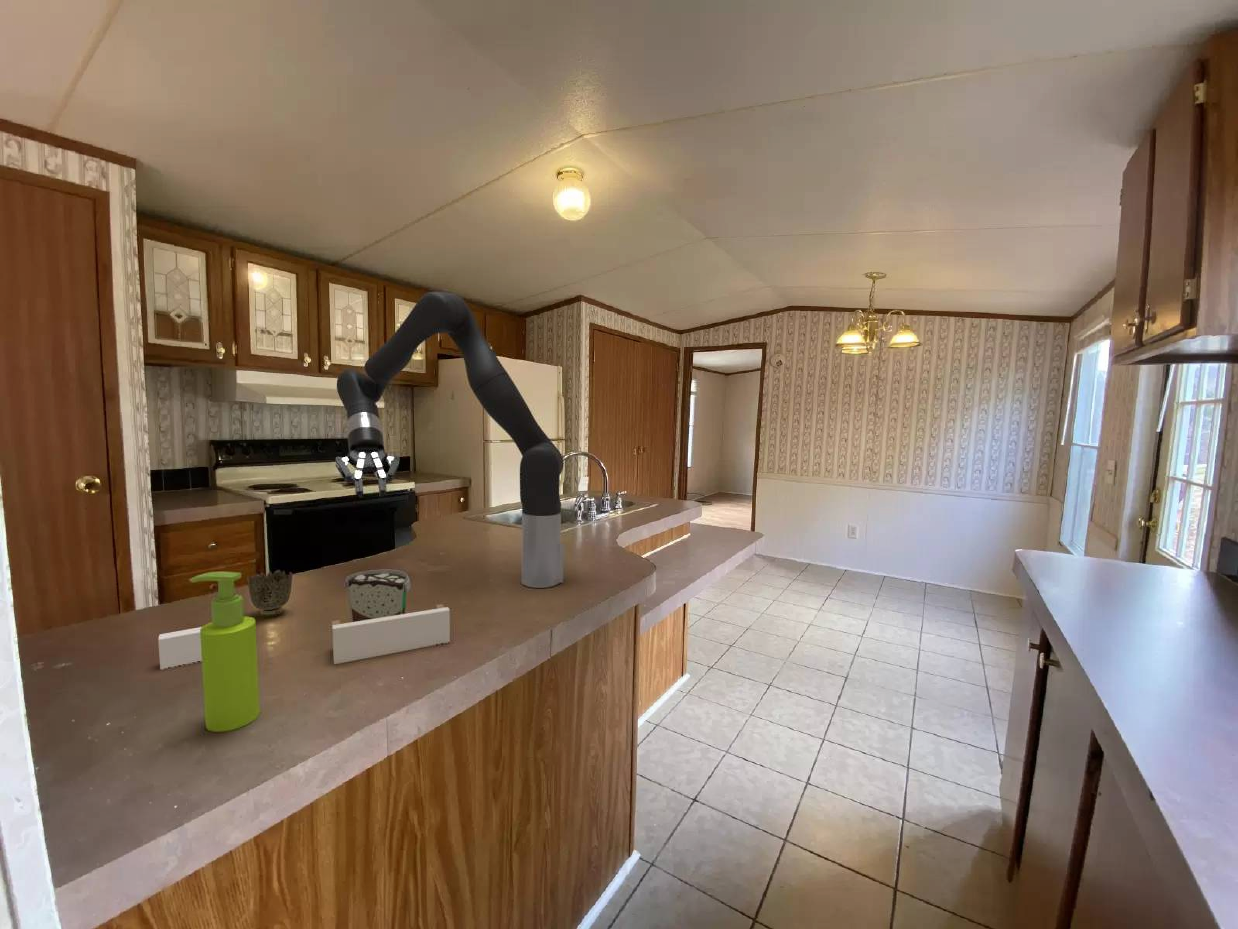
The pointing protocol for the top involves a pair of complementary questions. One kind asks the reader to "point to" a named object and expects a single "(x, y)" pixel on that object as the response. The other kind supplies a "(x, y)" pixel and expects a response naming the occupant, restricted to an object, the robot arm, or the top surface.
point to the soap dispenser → (228, 658)
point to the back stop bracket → (390, 634)
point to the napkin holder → (179, 648)
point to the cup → (270, 592)
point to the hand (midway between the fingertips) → (371, 494)
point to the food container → (377, 594)
